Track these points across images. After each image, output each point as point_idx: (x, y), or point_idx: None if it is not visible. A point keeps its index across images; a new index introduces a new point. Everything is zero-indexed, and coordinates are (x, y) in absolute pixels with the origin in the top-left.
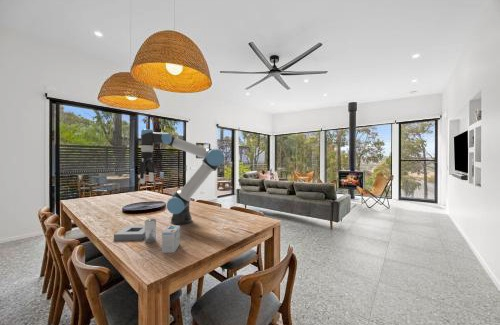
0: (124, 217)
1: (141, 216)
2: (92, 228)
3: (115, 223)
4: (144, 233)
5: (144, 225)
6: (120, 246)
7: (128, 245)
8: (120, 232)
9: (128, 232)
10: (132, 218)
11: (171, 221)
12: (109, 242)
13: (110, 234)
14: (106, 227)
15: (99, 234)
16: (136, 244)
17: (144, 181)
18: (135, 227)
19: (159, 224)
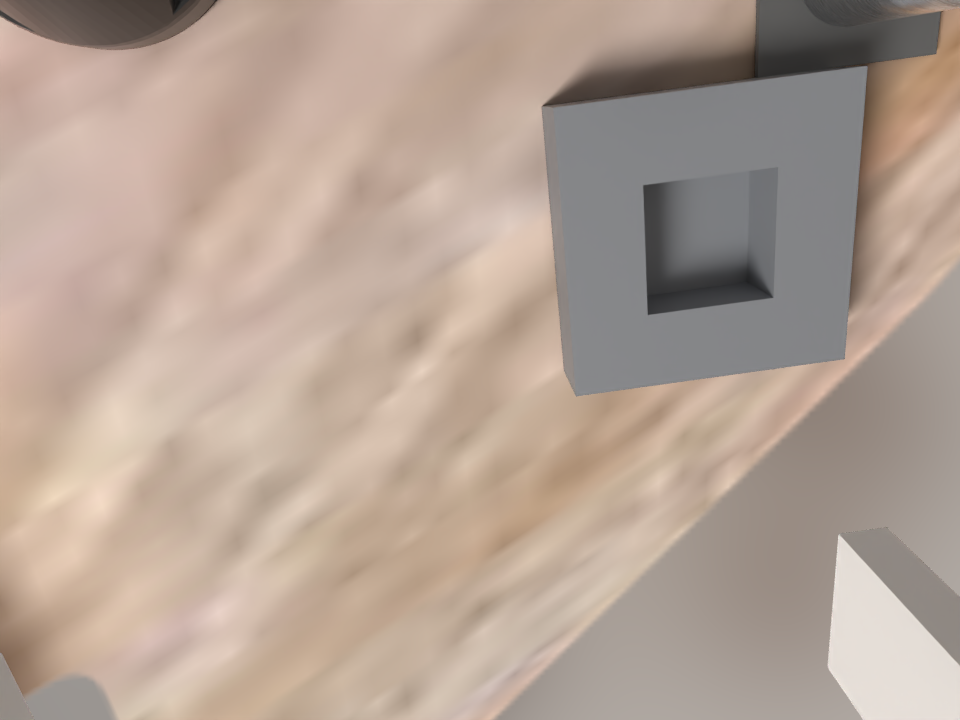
0: (129, 681)
1: (34, 550)
2: (496, 702)
3: (337, 631)
4: (803, 73)
5: (562, 218)
6: (936, 200)
7: (924, 140)
8: (792, 334)
9: (800, 254)
10: (138, 591)
11: (199, 6)
12: None
13: (639, 474)
14: (460, 625)
15: (639, 556)
16: (911, 74)
17: (949, 589)
18: (637, 280)
19: (282, 164)
